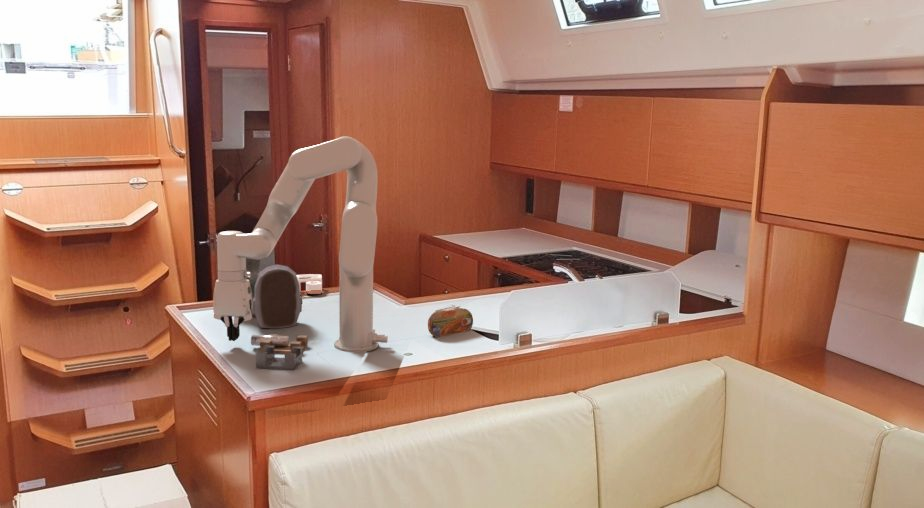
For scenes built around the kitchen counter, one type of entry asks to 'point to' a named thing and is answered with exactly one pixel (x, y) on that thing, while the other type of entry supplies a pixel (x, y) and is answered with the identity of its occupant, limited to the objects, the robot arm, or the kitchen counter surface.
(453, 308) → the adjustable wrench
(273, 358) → the V-block
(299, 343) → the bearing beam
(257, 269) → the detergent
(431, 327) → the tin
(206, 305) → the kitchen counter surface
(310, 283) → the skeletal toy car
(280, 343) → the steel axle
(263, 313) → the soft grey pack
